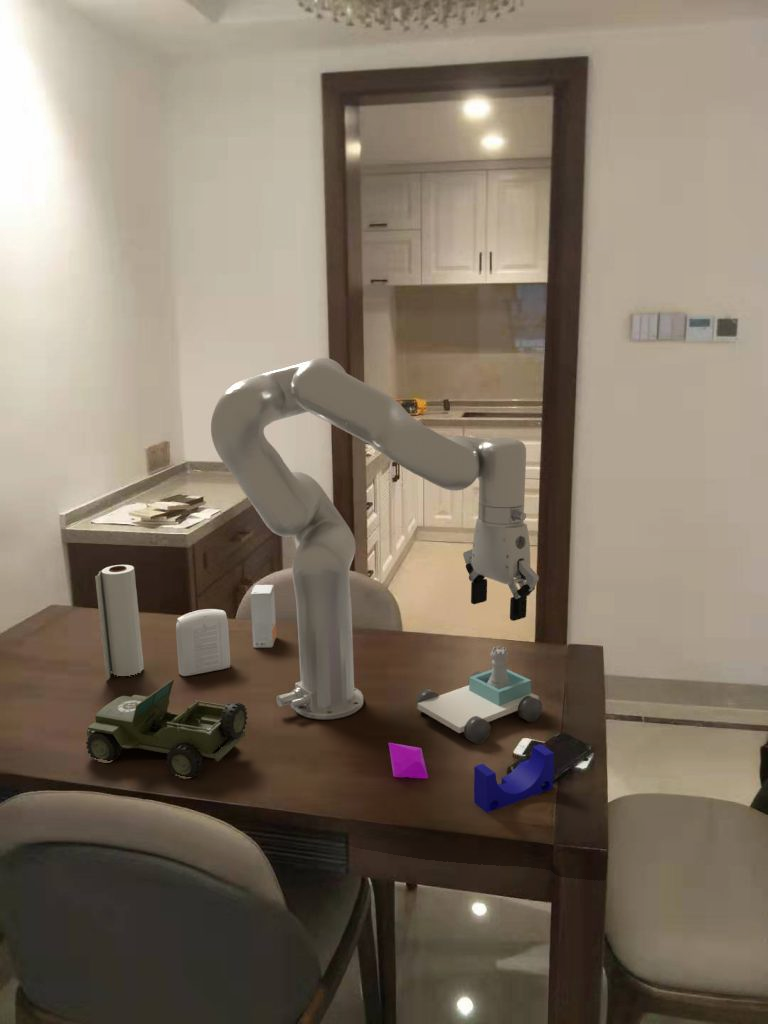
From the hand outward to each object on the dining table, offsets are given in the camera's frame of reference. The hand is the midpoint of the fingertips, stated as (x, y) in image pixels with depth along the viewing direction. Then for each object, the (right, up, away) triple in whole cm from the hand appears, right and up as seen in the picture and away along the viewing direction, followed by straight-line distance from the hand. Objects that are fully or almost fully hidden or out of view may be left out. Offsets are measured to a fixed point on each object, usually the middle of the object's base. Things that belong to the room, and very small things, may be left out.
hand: (497, 610), depth 150 cm
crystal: (-16, -23, -16) cm, 33 cm away
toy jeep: (-54, -23, -9) cm, 59 cm away
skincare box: (-45, -11, +36) cm, 59 cm away
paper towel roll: (-71, -15, +23) cm, 76 cm away
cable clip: (-1, -25, -22) cm, 33 cm away
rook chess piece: (+1, -15, +4) cm, 15 cm away
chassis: (-3, -18, +1) cm, 19 cm away
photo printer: (-55, -15, +23) cm, 61 cm away
